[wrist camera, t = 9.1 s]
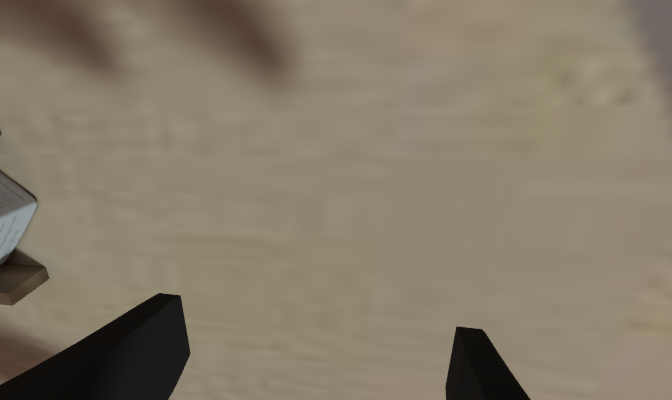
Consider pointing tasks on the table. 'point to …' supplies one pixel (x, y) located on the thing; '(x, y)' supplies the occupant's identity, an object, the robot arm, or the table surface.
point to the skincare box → (13, 215)
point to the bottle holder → (19, 281)
